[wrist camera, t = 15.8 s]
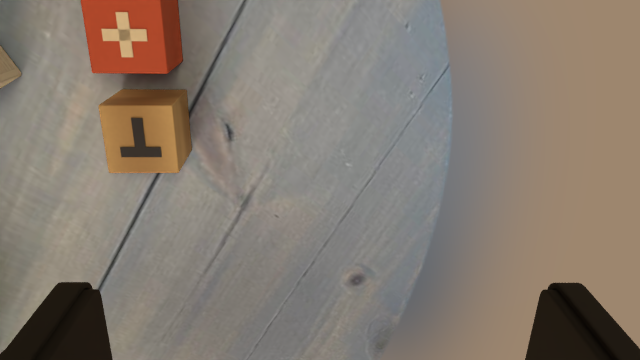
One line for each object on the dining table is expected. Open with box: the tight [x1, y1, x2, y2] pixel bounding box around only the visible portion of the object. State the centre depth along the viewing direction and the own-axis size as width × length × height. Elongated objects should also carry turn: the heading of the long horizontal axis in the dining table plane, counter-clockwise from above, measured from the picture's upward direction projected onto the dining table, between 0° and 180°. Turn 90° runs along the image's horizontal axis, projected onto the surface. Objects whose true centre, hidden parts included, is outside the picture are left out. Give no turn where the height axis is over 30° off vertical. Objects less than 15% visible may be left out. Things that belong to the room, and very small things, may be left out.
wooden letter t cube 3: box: [99, 89, 192, 173], centre depth 34 cm, size 5×5×5 cm
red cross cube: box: [81, 0, 183, 74], centre depth 32 cm, size 5×5×5 cm
